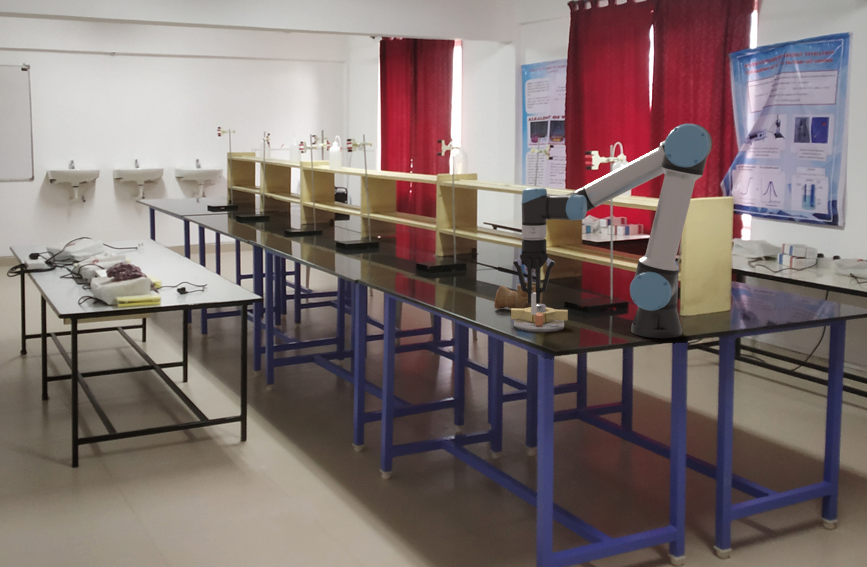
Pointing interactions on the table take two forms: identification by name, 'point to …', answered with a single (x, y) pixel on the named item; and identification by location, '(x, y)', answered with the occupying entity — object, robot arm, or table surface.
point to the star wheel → (539, 315)
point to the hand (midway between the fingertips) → (534, 313)
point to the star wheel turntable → (545, 327)
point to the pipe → (513, 297)
